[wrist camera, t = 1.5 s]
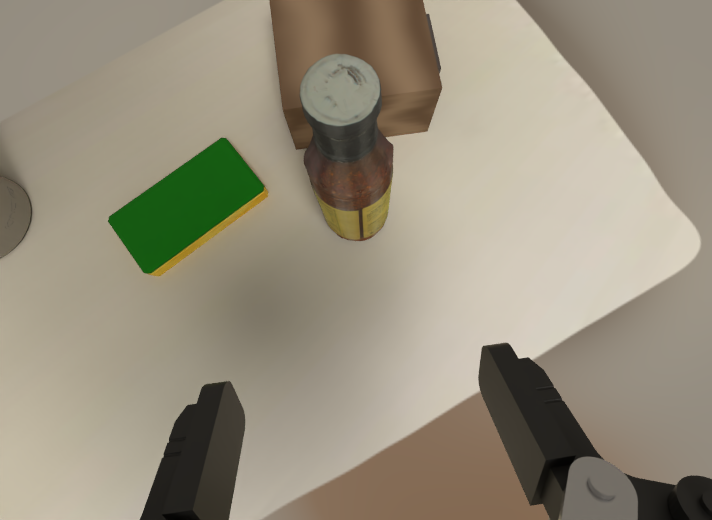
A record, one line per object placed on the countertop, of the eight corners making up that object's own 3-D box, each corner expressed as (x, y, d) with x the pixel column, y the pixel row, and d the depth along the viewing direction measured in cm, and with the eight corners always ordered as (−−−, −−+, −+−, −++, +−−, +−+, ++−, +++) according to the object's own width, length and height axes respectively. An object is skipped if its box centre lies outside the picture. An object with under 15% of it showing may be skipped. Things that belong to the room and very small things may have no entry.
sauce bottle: (380, 181, 38) (404, 19, 18) (391, 239, 37) (429, 132, 17) (318, 190, 38) (274, 38, 18) (326, 249, 36) (290, 153, 17)
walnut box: (296, 149, 39) (282, 109, 32) (283, 51, 41) (268, -6, 34) (434, 130, 39) (451, 86, 32) (414, 34, 41) (425, -26, 34)
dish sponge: (121, 225, 38) (105, 218, 35) (232, 147, 39) (223, 135, 37) (158, 279, 36) (144, 275, 34) (271, 196, 38) (265, 187, 36)
